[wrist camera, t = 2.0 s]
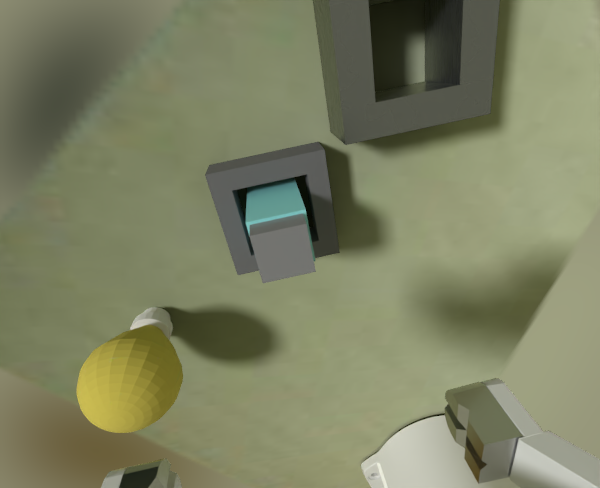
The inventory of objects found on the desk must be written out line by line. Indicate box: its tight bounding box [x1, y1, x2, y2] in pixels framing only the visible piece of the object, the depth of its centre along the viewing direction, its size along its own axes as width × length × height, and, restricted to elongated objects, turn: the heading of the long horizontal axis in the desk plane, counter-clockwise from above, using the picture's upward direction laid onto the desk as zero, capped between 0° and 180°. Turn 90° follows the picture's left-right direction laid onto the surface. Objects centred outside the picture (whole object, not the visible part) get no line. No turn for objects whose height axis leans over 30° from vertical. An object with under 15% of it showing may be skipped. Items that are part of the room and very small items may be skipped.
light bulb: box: [77, 307, 183, 433], centre depth 26 cm, size 7×7×10 cm
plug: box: [245, 177, 316, 283], centre depth 23 cm, size 4×4×8 cm
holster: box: [205, 142, 340, 275], centre depth 25 cm, size 8×8×2 cm
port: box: [313, 0, 500, 145], centre depth 20 cm, size 9×9×5 cm
